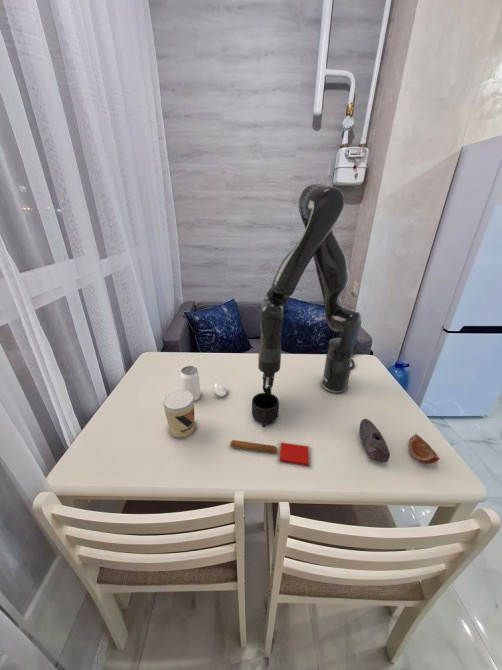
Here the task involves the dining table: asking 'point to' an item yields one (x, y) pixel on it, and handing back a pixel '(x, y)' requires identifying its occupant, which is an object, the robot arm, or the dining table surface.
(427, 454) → the fruit slice
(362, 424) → the perforated stone tool
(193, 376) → the can
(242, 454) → the dining table surface
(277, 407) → the mug
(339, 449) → the dining table surface
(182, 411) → the beige lidded canister
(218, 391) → the dumpling
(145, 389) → the dining table surface
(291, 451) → the spatula
